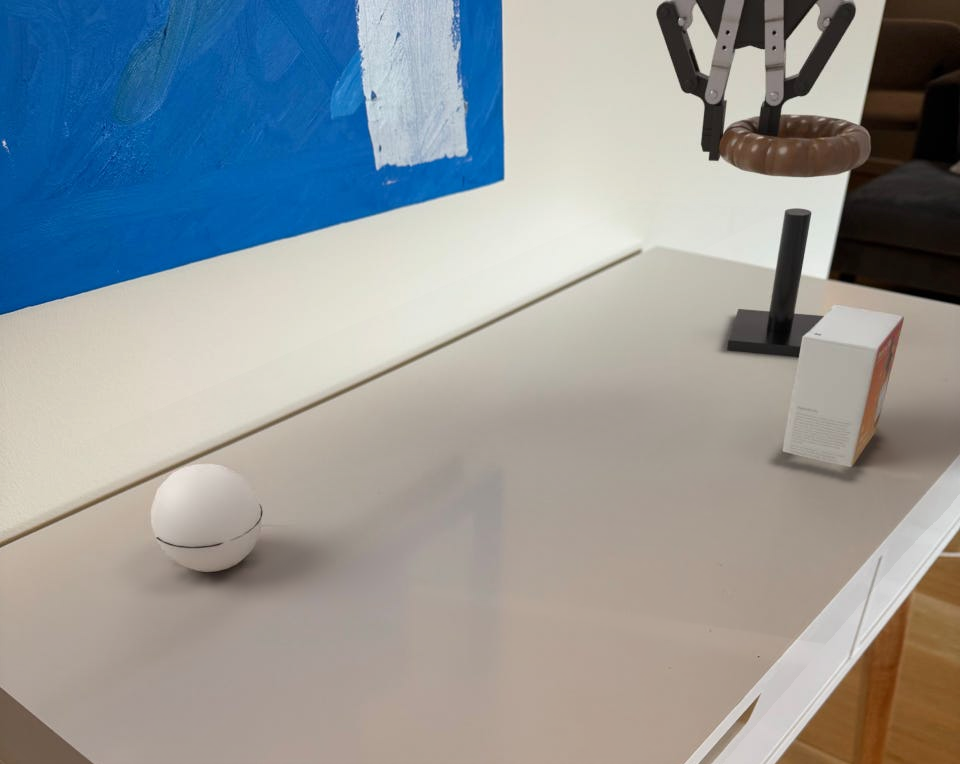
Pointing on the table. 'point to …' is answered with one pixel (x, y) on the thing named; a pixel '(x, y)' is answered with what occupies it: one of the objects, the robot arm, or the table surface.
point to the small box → (841, 384)
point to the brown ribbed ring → (796, 146)
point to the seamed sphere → (206, 517)
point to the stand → (779, 299)
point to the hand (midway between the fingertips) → (737, 158)
